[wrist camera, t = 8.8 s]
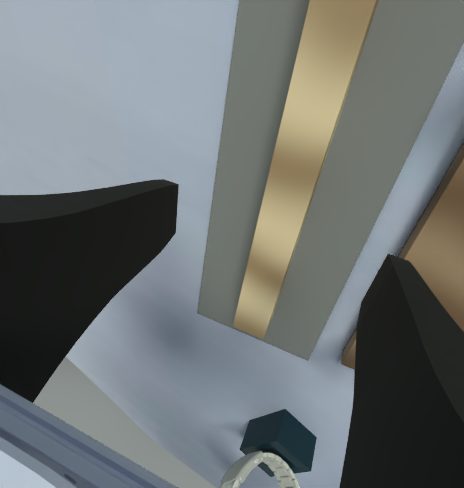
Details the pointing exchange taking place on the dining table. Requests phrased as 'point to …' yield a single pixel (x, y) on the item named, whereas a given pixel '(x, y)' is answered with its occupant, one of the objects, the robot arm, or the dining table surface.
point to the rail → (301, 148)
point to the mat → (338, 158)
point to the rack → (437, 248)
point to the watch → (273, 450)
